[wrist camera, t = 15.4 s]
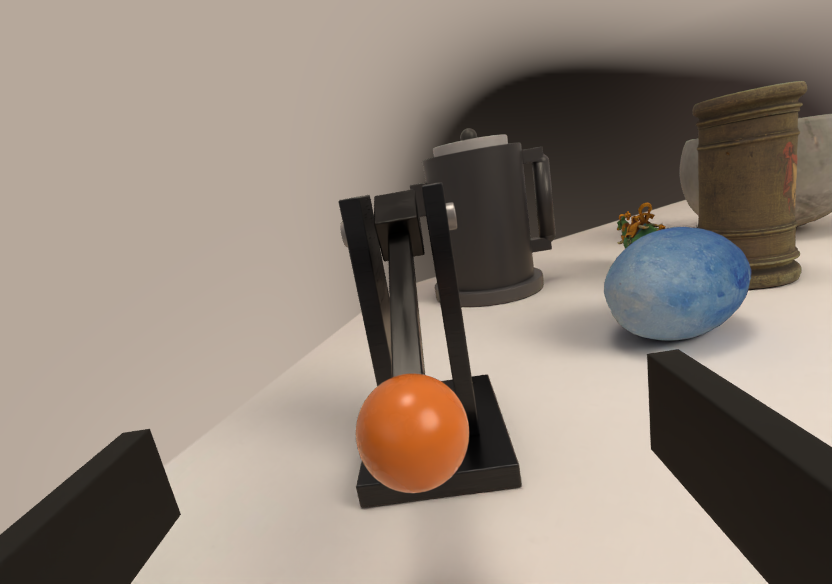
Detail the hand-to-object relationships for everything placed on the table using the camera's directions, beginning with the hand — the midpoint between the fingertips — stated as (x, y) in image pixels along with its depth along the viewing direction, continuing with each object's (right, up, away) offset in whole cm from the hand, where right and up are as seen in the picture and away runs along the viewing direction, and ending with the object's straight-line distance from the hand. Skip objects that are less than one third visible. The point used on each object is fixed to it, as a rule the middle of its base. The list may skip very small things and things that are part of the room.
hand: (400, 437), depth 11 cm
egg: (+23, +1, +24) cm, 33 cm away
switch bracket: (+2, -5, +14) cm, 15 cm away
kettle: (+10, +4, +45) cm, 46 cm away
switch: (0, +2, +8) cm, 8 cm away
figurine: (+30, +7, +43) cm, 53 cm away
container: (+35, +5, +33) cm, 48 cm away
